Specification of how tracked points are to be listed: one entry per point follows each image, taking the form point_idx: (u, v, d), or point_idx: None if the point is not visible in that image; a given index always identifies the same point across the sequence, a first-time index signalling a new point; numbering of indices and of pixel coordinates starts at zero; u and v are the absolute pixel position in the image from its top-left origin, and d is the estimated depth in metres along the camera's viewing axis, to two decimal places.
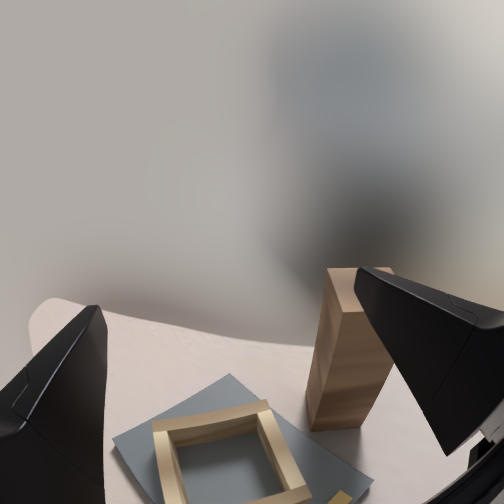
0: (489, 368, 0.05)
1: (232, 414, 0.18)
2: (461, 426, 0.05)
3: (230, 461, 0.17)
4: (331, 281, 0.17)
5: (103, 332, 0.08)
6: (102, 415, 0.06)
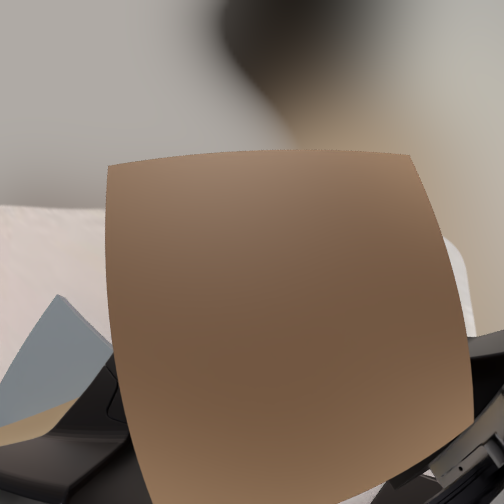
0: None
1: None
2: None
3: None
4: (108, 280, 0.03)
5: None
6: None
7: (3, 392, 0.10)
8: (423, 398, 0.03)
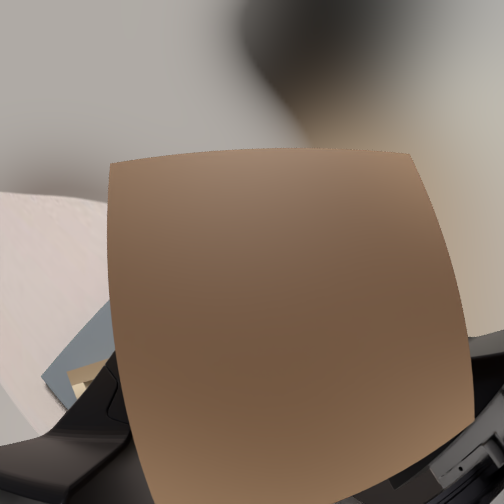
0: None
1: None
2: None
3: None
4: (110, 278, 0.03)
5: None
6: None
7: (76, 344, 0.18)
8: (424, 396, 0.03)
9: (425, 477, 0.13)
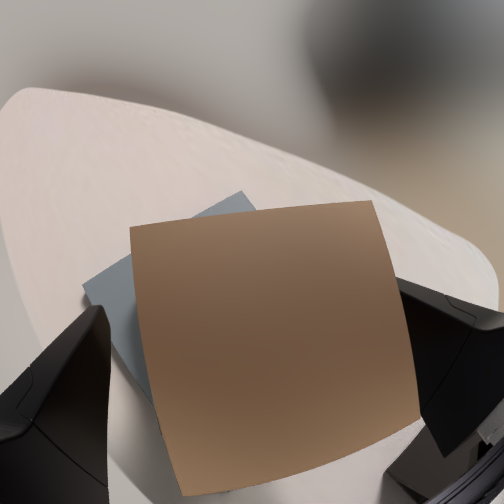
0: (487, 369, 0.05)
1: None
2: (458, 428, 0.05)
3: None
4: (139, 315, 0.04)
5: (107, 332, 0.08)
6: (106, 415, 0.06)
7: None
8: (369, 397, 0.04)
9: None
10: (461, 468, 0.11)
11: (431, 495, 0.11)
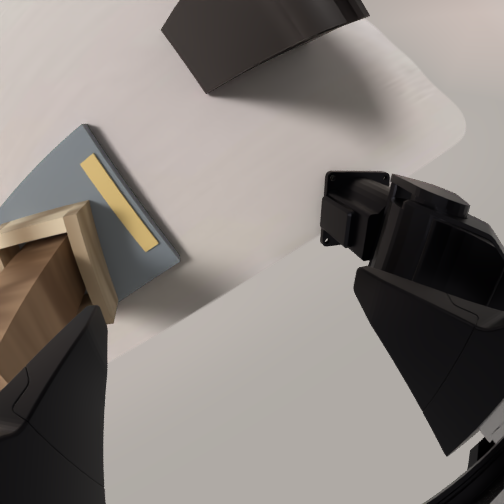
0: (489, 368, 0.05)
1: (1, 271, 0.15)
2: (461, 426, 0.05)
3: None
4: None
5: (103, 332, 0.08)
6: (102, 415, 0.06)
7: None
8: None
9: None
10: (218, 27, 0.11)
11: (240, 71, 0.13)
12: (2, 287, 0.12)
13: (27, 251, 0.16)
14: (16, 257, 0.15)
